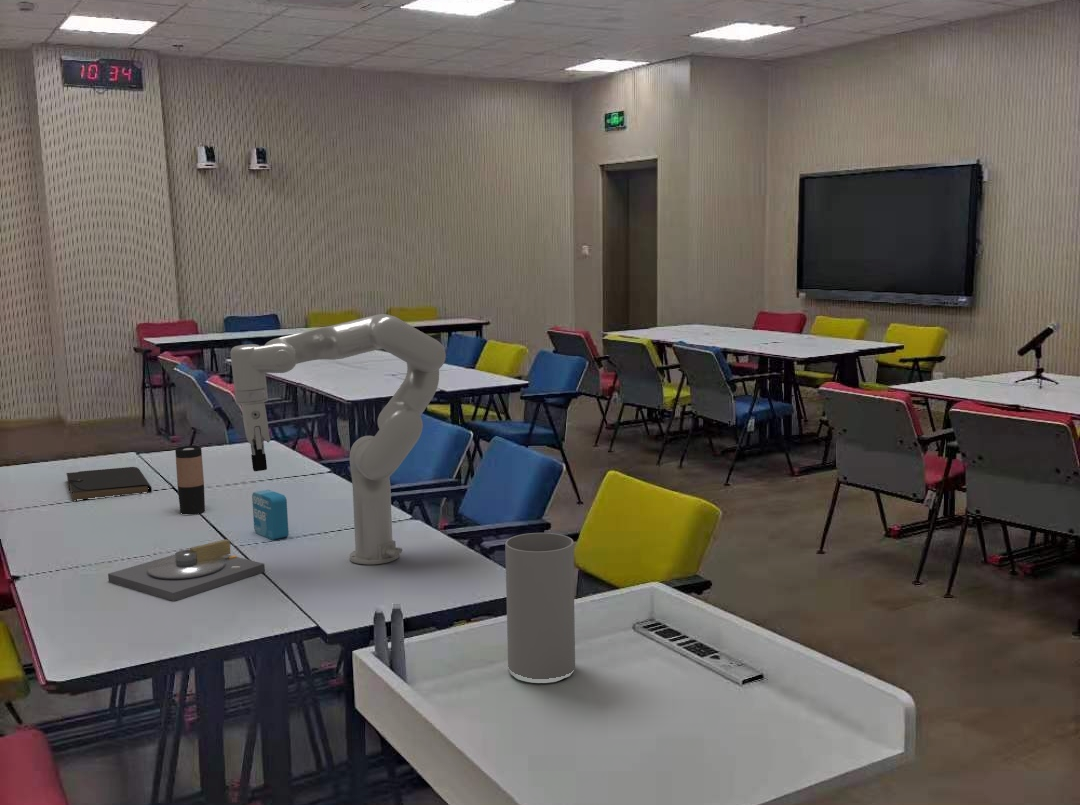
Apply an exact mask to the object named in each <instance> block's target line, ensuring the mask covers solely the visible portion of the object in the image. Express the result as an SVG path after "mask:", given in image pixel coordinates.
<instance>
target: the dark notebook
mask: <svg viewBox="0 0 1080 805" xmlns="http://www.w3.org/2000/svg"><path fill="white" fill-rule="evenodd" d="M66 479H67V483H68V491H70V492H71V493H72V492H73V494H72V495H73V501H74V500H77V499H88V498H95V497H105V496H113V495H122V494H132V493H140V492H148V493H149V491H148V488H149V490H150V491H151V492H153V489H152V486H151V484H150V483H149V482H148V480H147V479H146V477H145V476H144V474H143V473H142V471H141V469H140V468H138V467H137V466H128V467H127V466H125V467H117V468H115V467H114V468H104V469H93V470H92V469H91V470H81V471H75V472H66ZM70 488H71V489H70Z"/></svg>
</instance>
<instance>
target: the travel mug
mask: <svg viewBox="0 0 1080 805" xmlns="http://www.w3.org/2000/svg"><path fill="white" fill-rule="evenodd" d="M174 450H175V452H174V453H175V464H176V465H175V467H176V482H177V493H178V502H179V504H178V505H179V512H180V513H179V514H181V513H182V514H196V515H199V514H198V513H201V514H203V513H205V512H204V511H206V508H205V507H206V504H205V502H206V501H205V498H206V497H205V480H204V468H203V455H202V454H203V453H202V447H201V446H199V445H184V446H183V445H182V446H178V447H176V448H175V449H174ZM182 514H181V515H182Z"/></svg>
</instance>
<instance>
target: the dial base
mask: <svg viewBox="0 0 1080 805" xmlns="http://www.w3.org/2000/svg"><path fill="white" fill-rule="evenodd" d="M171 556H175V554H172V555H169V556H165V557H161V558H158V559H155V560H151V561H148V562H143V563H141V564H137V565H134V566H131V567H126V568H123V569H120V570H116V571H113V572H109V573H107V576H108V578H107V579H108V583H112V584H115V585H119V586H122V587H125V588H129V589H132V590H134V591H139V592H142V593H145V594H149V595H151V596H155V597H158V598H161V597H162V599H165V600H169V601H171V600H172V602H176V601H179V600H182V599H185V598H188V597H192V596H195V595H197V594H201V593H203V592H206V591H209V590H213V589H217V588H219V587H222V586H225V585H228V584H231V583H234V582H237V581H241V580H243V579H247V578H249V577H252V576H255V575H258V574H262V573H265V572H266V571H265V570H266V569H265V568H266V566H265V563H263V562H259V561H255V560H250V559H247V558H243V557H238V556H237V555H231V554H228V555H224V556H222V557H224V558H225V566H224V568H222V569H221V570H219V571H217V572H215V573H212V574H209V575H205V576H201V577H196V578H189V579H176V580H170V579H158V578H154V577H152V576H150V575H149V574H148V566H149V565H150V564H151V563H153V562H155V561H157V560H160V559H163V558H167V557H171Z"/></svg>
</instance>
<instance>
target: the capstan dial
mask: <svg viewBox="0 0 1080 805" xmlns="http://www.w3.org/2000/svg"><path fill="white" fill-rule="evenodd" d="M230 541H231V540H230V539H222V540H218V541H214V542H210V543H206V544H201V545H198V546H192V547H189V549H184V550H180V551H179V550H178V551H177V552H175V553H174V555H175V556H171V555H170V556H171V557H168V556H166V557H167V558H164V557H162V558H163V559H161V558H159V559H160V560H157V559H156V560H157V561H155V562H153V563H151V564H150V565H149V566H148V574H149V575H150V576H152V577H154V578H158V579H170V580H176V579H189V578H196V577H201V576H205V575H209V574H212V573H215V572H217V571H219V570H221V569H222V568H224V566H225V558H224V557H222V556H224V555H231V542H230Z"/></svg>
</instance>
